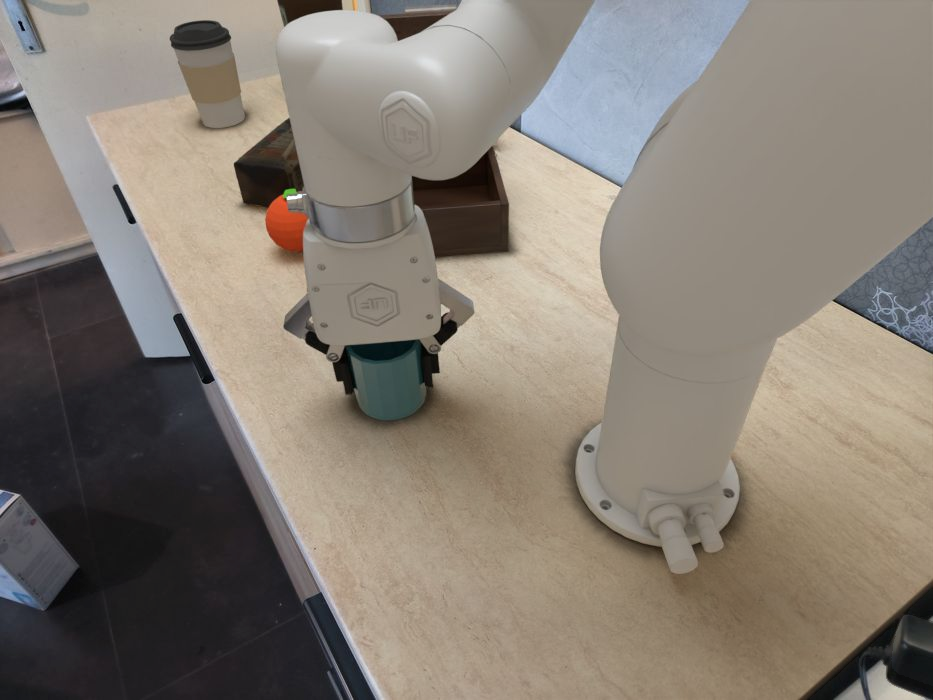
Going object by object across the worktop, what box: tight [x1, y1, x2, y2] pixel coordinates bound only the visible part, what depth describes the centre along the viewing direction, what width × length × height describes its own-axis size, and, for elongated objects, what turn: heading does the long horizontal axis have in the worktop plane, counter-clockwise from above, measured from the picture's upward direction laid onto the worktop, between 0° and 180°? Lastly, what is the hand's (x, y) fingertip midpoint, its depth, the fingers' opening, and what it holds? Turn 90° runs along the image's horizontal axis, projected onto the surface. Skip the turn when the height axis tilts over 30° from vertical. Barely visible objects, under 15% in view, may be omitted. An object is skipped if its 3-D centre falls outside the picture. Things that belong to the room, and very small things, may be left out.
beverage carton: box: [233, 117, 304, 208], centre depth 91 cm, size 8×19×7 cm, turn 164°
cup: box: [345, 339, 427, 422], centre depth 58 cm, size 6×6×7 cm
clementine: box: [264, 189, 309, 253], centre depth 77 cm, size 8×7×7 cm
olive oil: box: [276, 0, 344, 28], centre depth 111 cm, size 11×11×25 cm
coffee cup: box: [169, 19, 246, 129], centre depth 104 cm, size 9×9×15 cm
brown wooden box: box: [412, 145, 510, 258], centre depth 81 cm, size 16×14×6 cm
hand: (389, 379), depth 59 cm, fingers closed on cup, 6 cm apart
